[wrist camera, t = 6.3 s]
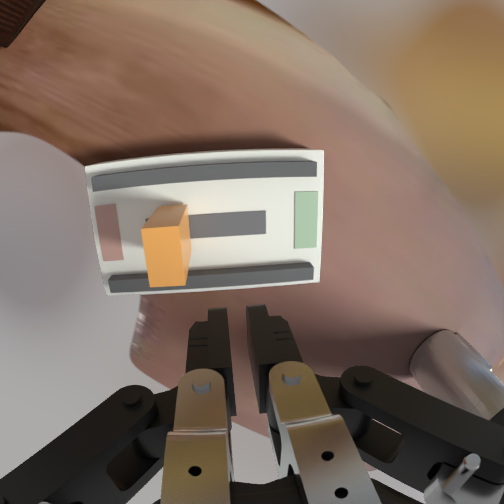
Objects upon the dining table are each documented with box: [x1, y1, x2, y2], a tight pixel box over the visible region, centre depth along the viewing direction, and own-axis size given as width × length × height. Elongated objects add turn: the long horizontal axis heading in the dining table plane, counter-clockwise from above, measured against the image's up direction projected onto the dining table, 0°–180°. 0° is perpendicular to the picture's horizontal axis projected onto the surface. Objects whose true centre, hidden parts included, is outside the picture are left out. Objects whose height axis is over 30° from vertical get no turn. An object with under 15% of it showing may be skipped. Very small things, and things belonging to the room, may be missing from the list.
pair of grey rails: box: [91, 161, 317, 293], centre depth 25 cm, size 18×10×1 cm, turn 91°
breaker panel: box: [85, 148, 324, 296], centre depth 28 cm, size 20×12×4 cm, turn 91°
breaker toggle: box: [141, 204, 192, 287], centre depth 22 cm, size 2×4×6 cm, turn 1°
